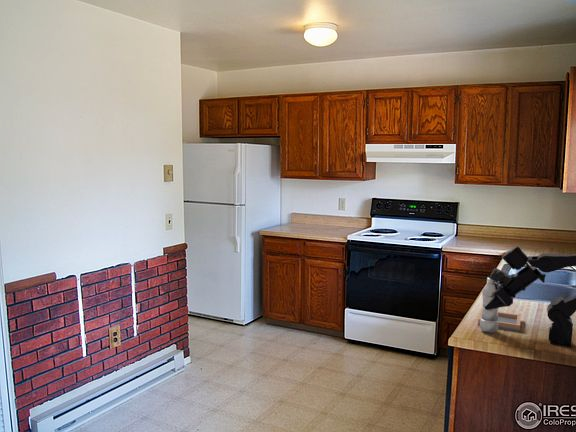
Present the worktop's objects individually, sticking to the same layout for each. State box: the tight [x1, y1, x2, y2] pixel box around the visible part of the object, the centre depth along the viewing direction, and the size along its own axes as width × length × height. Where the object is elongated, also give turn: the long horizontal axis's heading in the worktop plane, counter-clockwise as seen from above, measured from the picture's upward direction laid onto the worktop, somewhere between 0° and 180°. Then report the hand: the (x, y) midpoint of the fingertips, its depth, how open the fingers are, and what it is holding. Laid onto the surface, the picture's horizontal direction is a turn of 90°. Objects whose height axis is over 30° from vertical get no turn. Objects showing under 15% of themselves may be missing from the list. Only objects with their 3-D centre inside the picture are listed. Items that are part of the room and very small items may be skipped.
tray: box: [477, 308, 521, 332], centre depth 190 cm, size 14×14×2 cm
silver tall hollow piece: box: [479, 276, 499, 334], centre depth 179 cm, size 6×7×20 cm
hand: (486, 305), depth 179 cm, fingers open, 9 cm apart
